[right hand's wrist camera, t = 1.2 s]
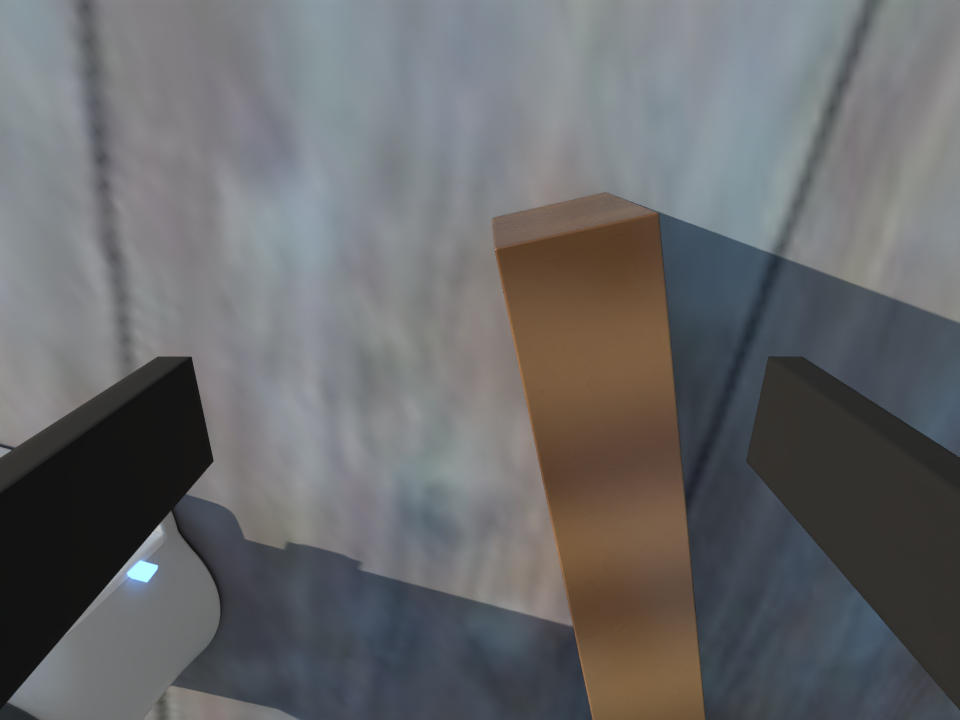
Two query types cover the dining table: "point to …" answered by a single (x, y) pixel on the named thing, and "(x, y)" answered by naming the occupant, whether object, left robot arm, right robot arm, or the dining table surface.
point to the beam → (608, 444)
